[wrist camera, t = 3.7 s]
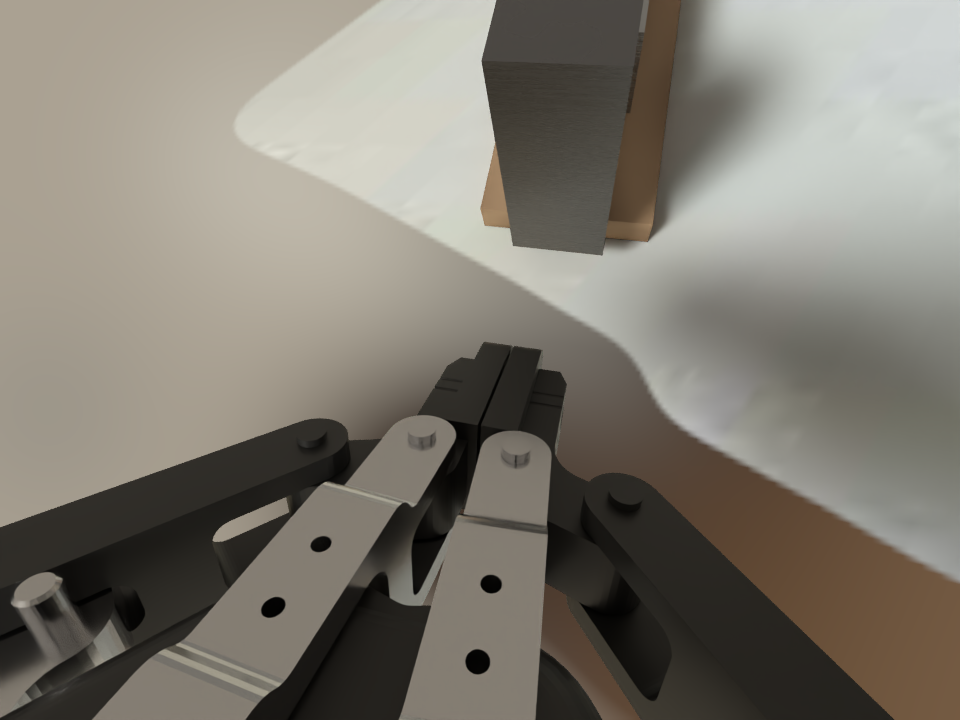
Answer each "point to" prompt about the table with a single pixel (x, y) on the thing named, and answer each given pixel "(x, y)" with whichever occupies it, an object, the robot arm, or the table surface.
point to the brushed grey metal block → (560, 114)
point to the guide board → (626, 136)
